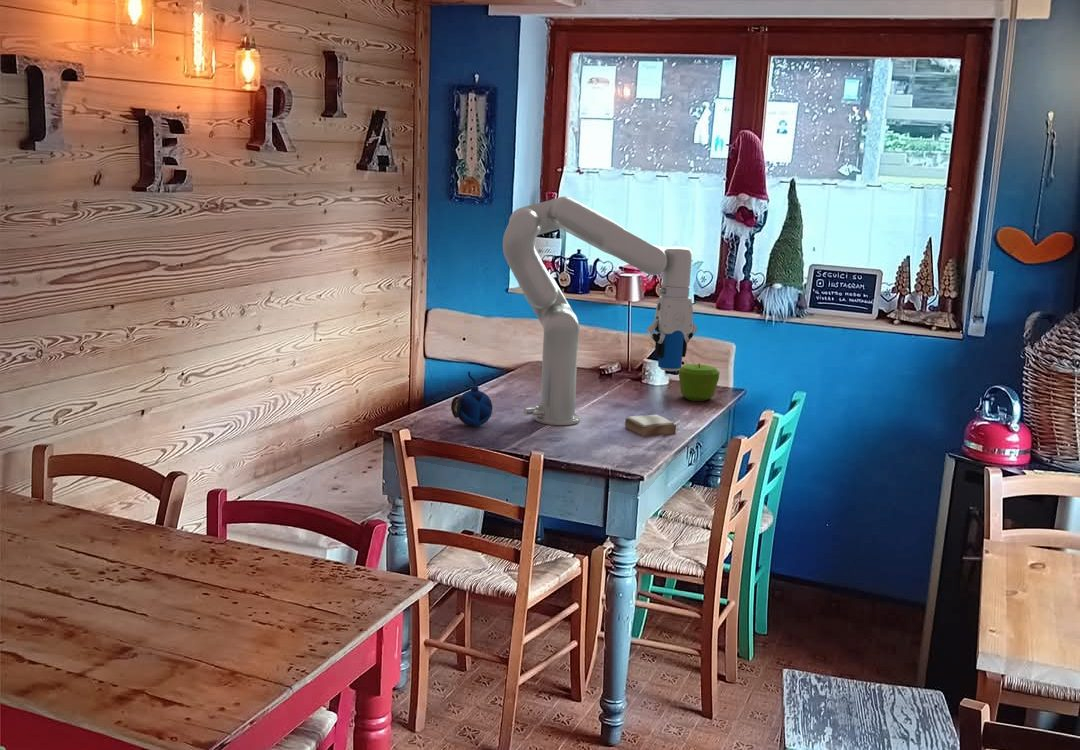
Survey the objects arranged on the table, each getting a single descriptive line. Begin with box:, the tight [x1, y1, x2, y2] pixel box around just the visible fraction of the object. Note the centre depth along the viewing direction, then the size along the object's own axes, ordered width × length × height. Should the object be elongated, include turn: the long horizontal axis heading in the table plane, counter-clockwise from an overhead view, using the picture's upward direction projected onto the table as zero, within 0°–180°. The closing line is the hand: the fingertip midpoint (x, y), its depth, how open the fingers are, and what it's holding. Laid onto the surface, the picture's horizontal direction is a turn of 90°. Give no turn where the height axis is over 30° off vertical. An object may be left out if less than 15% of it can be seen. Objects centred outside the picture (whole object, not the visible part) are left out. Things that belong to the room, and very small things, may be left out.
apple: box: [678, 363, 720, 402], centre depth 337 cm, size 12×12×11 cm
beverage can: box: [657, 331, 684, 372], centre depth 302 cm, size 6×6×12 cm
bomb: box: [450, 371, 494, 427], centre depth 293 cm, size 10×11×15 cm
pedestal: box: [624, 414, 677, 437], centre depth 297 cm, size 10×10×3 cm
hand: (670, 356), depth 302 cm, fingers closed on beverage can, 6 cm apart
